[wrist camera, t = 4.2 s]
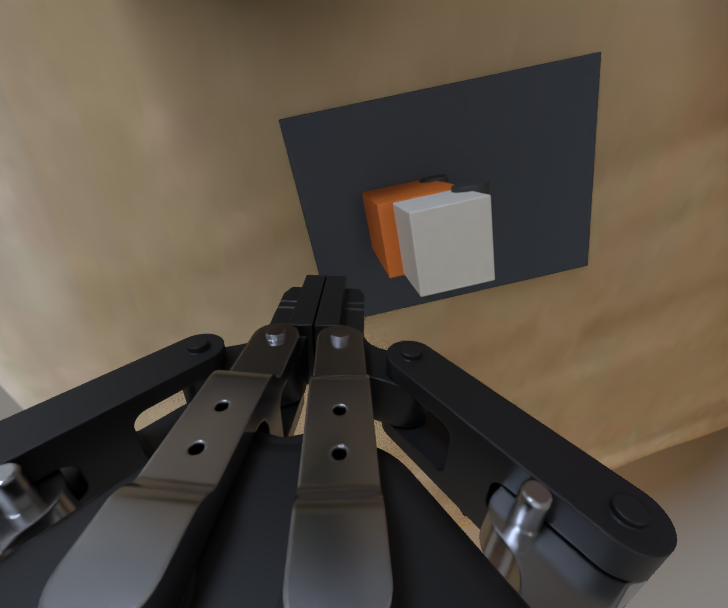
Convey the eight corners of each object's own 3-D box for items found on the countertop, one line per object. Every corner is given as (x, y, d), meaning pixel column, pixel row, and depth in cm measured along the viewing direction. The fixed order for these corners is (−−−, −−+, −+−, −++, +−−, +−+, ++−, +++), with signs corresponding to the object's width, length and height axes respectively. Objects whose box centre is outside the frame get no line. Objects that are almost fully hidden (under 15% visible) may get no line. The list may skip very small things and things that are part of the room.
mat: (332, 322, 35) (332, 324, 34) (279, 120, 27) (278, 119, 27) (584, 264, 35) (587, 265, 35) (597, 53, 28) (601, 51, 28)
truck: (372, 251, 32) (404, 306, 20) (361, 189, 30) (388, 211, 18) (444, 235, 32) (517, 280, 20) (437, 173, 30) (515, 183, 18)
